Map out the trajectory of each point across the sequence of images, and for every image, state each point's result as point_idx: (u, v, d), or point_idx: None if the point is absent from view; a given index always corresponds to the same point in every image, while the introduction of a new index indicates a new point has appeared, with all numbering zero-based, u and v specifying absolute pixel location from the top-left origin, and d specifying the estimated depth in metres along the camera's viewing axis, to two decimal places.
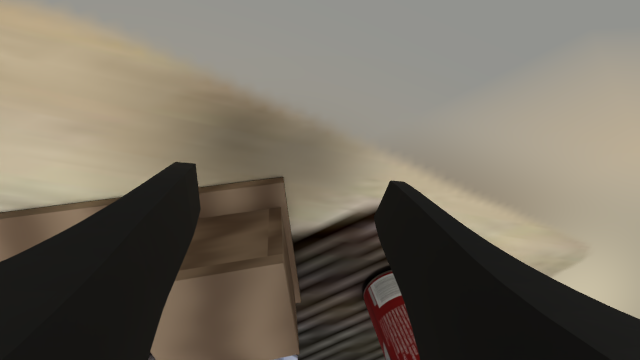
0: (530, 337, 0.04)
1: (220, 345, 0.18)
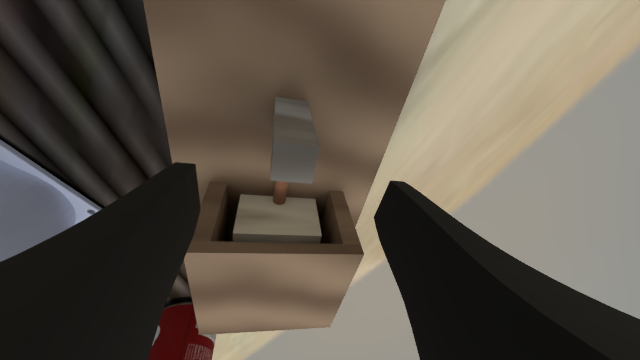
0: (530, 337, 0.04)
1: (245, 295, 0.16)
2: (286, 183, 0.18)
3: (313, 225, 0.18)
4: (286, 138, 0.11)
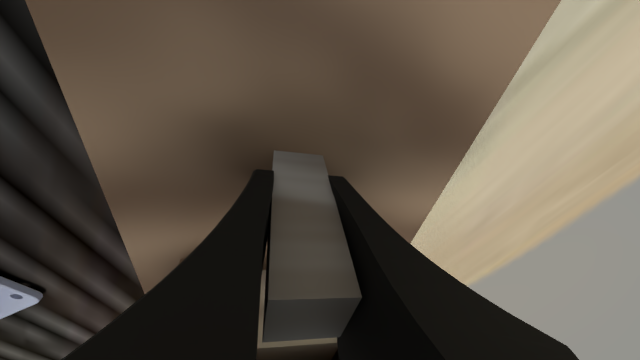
0: (407, 347, 0.04)
1: None
2: None
3: None
4: (294, 276, 0.05)
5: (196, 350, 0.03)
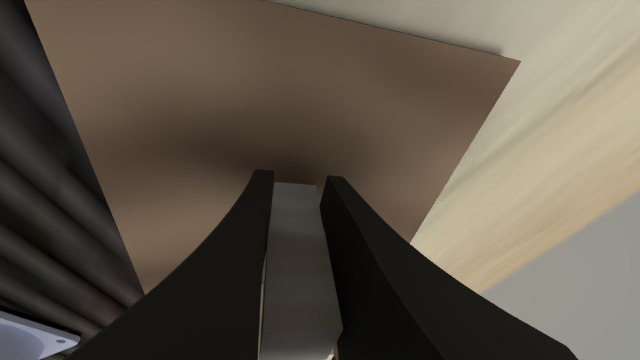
0: (406, 347, 0.04)
1: None
2: None
3: None
4: (285, 311, 0.06)
5: (197, 350, 0.03)
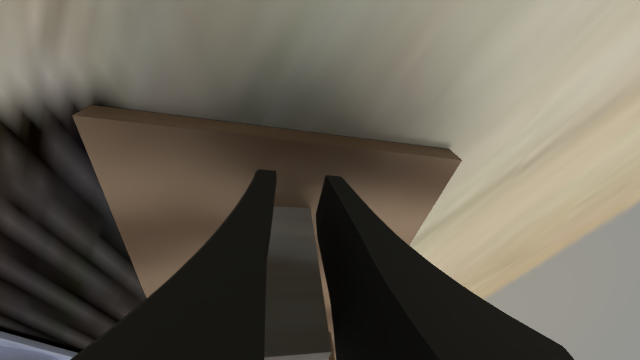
0: (402, 348, 0.04)
1: None
2: None
3: None
4: (280, 336, 0.07)
5: (204, 349, 0.03)
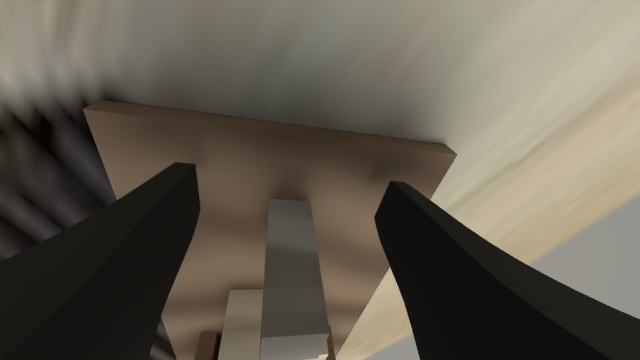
0: (530, 337, 0.04)
1: None
2: None
3: None
4: (280, 318, 0.07)
5: None
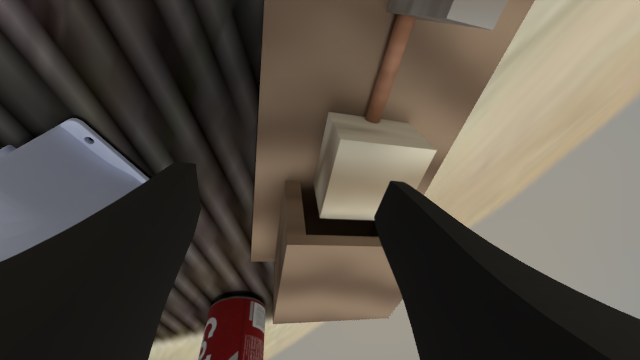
0: (530, 337, 0.04)
1: (325, 286, 0.17)
2: (389, 92, 0.15)
3: (422, 141, 0.15)
4: None
5: None
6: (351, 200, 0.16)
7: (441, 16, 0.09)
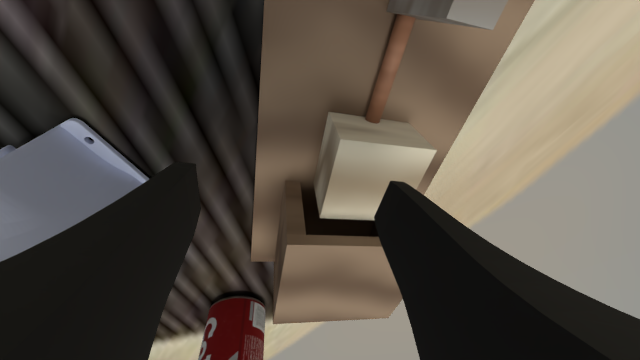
0: (530, 337, 0.04)
1: (325, 286, 0.17)
2: (389, 92, 0.15)
3: (422, 141, 0.15)
4: None
5: None
6: (351, 200, 0.16)
7: (441, 16, 0.09)
